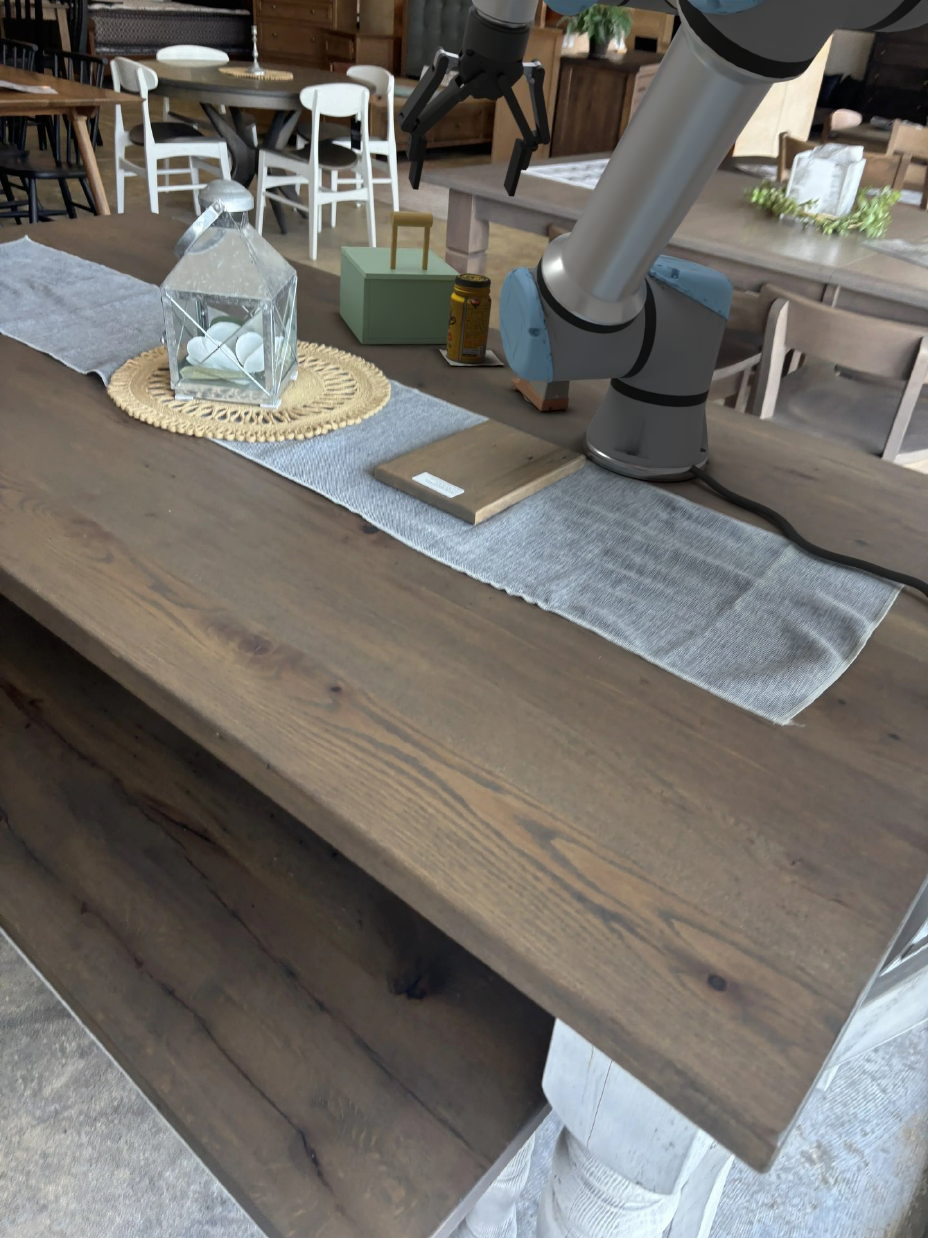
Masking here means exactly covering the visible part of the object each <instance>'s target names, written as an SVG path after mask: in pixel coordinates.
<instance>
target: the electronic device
mask: <svg viewBox="0 0 928 1238" xmlns="http://www.w3.org/2000/svg"><path fill="white" fill-rule="evenodd" d="M510 383H511V384H512V385H513V386H512V388H513V391H516V392H517V391H518V392H519V393H521V394H522V397H523V399H524V400H525V401H526V402H528V403H530V404H532V405H534V406H535V407H536V408H537V409H538V411H540V412H551V411H552V412H554V411H563V410H564V411H565V410H567V409H568V408H569V401H570V399H569V393H570V391H569V390H570V380H568V381H552V382H550V383H547V382H545V381H528V380H524V379H522V378H521V377H518V378H511V379H510Z"/></svg>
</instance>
